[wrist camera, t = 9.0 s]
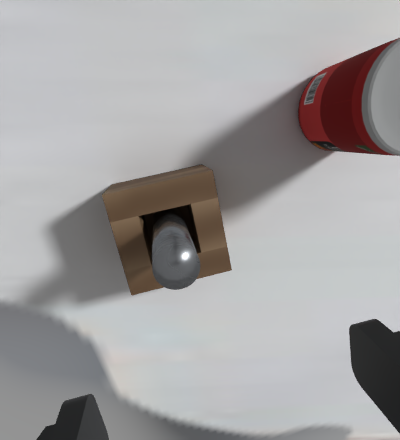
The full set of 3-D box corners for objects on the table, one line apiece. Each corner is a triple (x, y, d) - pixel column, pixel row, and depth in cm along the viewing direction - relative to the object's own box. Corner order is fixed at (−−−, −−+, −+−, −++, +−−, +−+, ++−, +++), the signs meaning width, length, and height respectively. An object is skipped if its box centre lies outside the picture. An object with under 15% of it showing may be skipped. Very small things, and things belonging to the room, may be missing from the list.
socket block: (111, 184, 30) (101, 195, 25) (201, 164, 31) (212, 170, 25) (135, 267, 33) (131, 295, 27) (218, 247, 34) (231, 270, 28)
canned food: (303, 160, 32) (375, 170, 22) (287, 80, 30) (359, 48, 20) (371, 137, 33) (473, 137, 22) (360, 57, 31) (468, 14, 20)
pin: (149, 209, 30) (146, 251, 19) (179, 202, 31) (194, 239, 19) (156, 237, 31) (158, 294, 20) (186, 230, 31) (204, 282, 20)
